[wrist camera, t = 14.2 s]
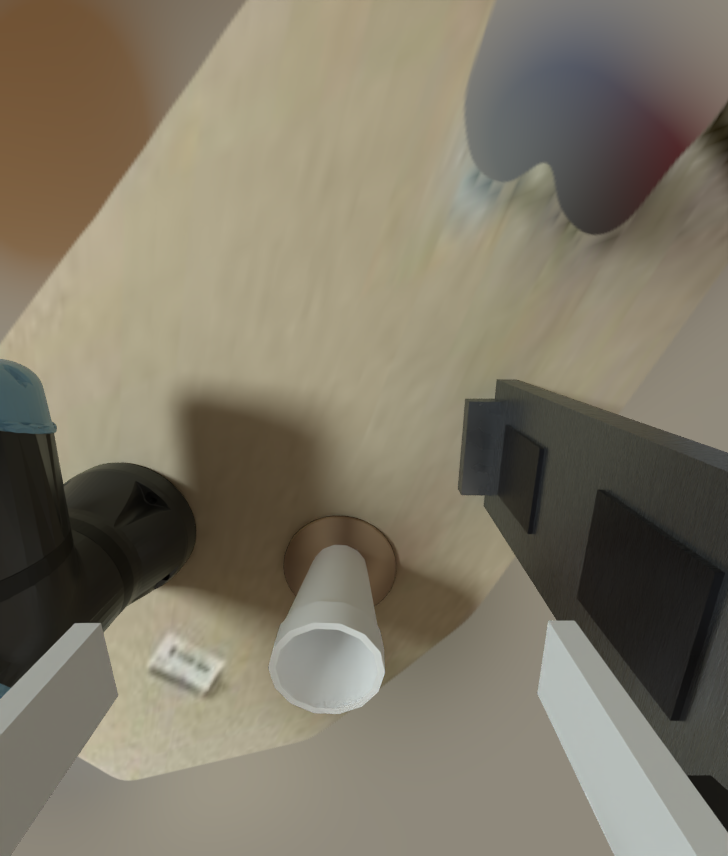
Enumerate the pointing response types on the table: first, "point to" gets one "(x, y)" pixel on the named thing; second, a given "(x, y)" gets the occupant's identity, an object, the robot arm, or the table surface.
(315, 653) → the foam cup
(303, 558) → the coaster
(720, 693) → the post
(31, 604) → the robot arm
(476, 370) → the table surface
